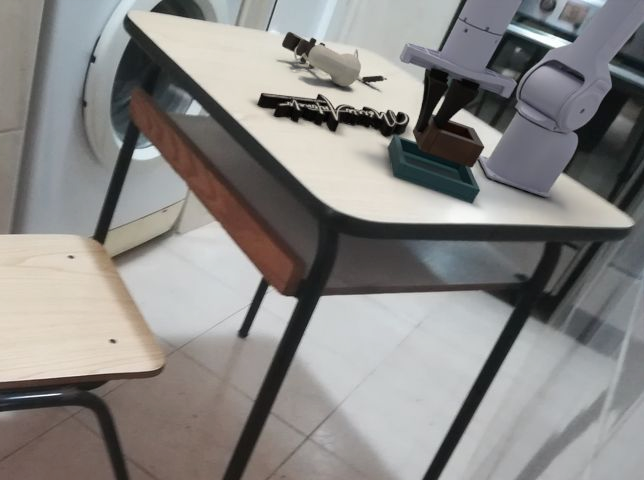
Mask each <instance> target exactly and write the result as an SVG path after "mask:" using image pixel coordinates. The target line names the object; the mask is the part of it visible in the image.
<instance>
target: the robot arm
mask: <svg viewBox="0 0 644 480" xmlns="http://www.w3.org/2000/svg"><path fill="white" fill-rule="evenodd" d="M522 2H523V0H466V1H465V3H464V6H463V8H462V9H461V12H460V13H459V15H458V18H457V20H456V22H454V23H455V24H454V25H453V28H452V30H451V31H450V34H449V36H448V37H447V39H446V41H445V44H444V45H443V47H442V50H441V51H439V50H435V49H431V48H428V47H424V46H421V45H417V44H413V43H410V42H408V41H407V42H406V43H405V45H404V46H403V49H402V51H401V52H400V54H399V60H400V62H401V63H405V64H408V65H409V64H411V65H414V66H417V67H420V68H423V69H425V70H424V80H423V81H424V82H423V92H422V93H423V94H422V100H421V106H420V110H419V114H418V118H417V121H416V124H415V125H416V126H415V125H414V127H416V130H417V131H418V132H420V133H422V132H423V130H424V129H425V127H426V126H427V124H428V122H429V120H430V117H431V115H432V114H434V111H435V109H436V108H437V107H438V104H439V103H440V101H441V99H442V98H443V96H444V95H445V96H444V99H443V100H442V103H441V105H440V107H439V108H438V110H437V112H436V113H435V114H434V115H435V117H434V122H435V124H436V126H437V128H438V129H442V127H443V126H444V125H445V124H446V123H447V122H448V121H449V120H451V119H452V118H454V116H455V115H456V114H457V113H458V112H460V111H461V110H462V109H463V108H465V107H466V106H468V105H469V104H471V103H472V102H473V101H475V99H476V98H477V97H478V95H479V94H480V91H479V90H478V89H479V88H480V89H483V90H487V91H489V92H493V93H495V94H498V95H499V96H501V97H504V98H506V99H509V98H510V97H511V95H512V93H513V92H514V90H515V88H516V93H515V96H516V100H517V103H516V104H515V106H514V108H515V109H516V110H517V111H516V112H515V114H514V116H513V118H512V119H511V121H510V122H509V124H508V126H507V128H506V129H505V131H504V133H503V134H502V136H501V137H500V139H499V141H498V143H497V144H496V146H495V147H494V149H493V151H492V153H491V154H490V156H489V157H487V156H484V155H480V156H479V158H478V161H479V162H480V165H481V166H482V168H483V171H484V173H485V175H486V177H487V178H488V179H491V180H493V181H497V182H499V183H503V184H506V185H509V186H511V187H515V188H517V189H520V190H522V191H526V192H528V193H530V194H531V193H532V194H534V195H537V196H540V197H543V198H548V197H549V192H550V190H551V188H552V187H553V186H554V184H555V183H556V181H557V180H558V179H559V177H560V175H562V173H563V172H564V170H565V168H566V167H567V166H568V164H569V163H570V161H571V160H572V158H573V156H574V154H575V152H576V150H577V147H578V144H579V137H578V134H577V133H576V132H574V131H576V130H578V129H580V128H581V127H583V126H584V125H586V124H587V123H588V122H590V120H591V119H592V118H593V117H594V116H595V114H596V113H597V112H598V109H599V107H600V106H601V105H600V104H601V103H602V101H603V100H604V98H605V97H606V95H607V94H608V93H609V91H611V89H612V87H613V85H612V78H611V73H610V67H609V63H610V62H611V61H612V60H613V58H614V57H615V56H616V55H617V54H618V52H619V51H620V50H621V49H622V47H623V46H624V45H625V44H626V43H627V42H628V40H629V39H630V38H631V37H632V36H633V34H634V33H635V32H636V31H637V30H638V29H639V27H640V26H641V25H642V24H643V23H644V0H606V1H605V2H604V4H603V5H602V6H601V7H600V9H599V10H598V11H597V12H596V14H594V16H593V17H592V18H591V20H590V21H589V22H588V24H587V25H586V26H585V27H584V28H583V30H582V31H581V32H580V33H579V35H578V36H577V37H576V39H575V40H574V41H573V42H571V43H569V44H565V45H562V46H558V47H555V48H554V47H553V48H551V49H549V50H548V52H546V54H545V55H544V56H543V58H541V60H539V62H538V63H536V64H535V65H533V66H532V67H531V68H530V69H528V71H526V73H525V74H524V75H523V76H522V78H521V79H520V81H519V83H518V84H517V81H515V79H514V78H511V77H509V76H506V75H502V74H501V73H499V72H496V71H494V70H492V69H488V68H487V65H488V64H489V62H490V60H491V59H492V57H493V55H494V53H495V51H496V50H497V47H498V46H499V44H500V42H501V40H502V38H503V37H504V35H505V33H506V31H507V30H508V28H509V26H510V24H511V22H512V20H513V18H514V17H515V15H516V13H517V11H518V9H519V8H520V6H521V4H522ZM569 72H572V73H574V74H576V75H577V76H579V77H581V78H582V79H584V81H583V80H581V79H580V78H578V77H576V76H575V75H574V74H573V75H572V74H570V73H569ZM448 78H451V82H450V84H448V82H449V79H448ZM516 86H517V87H516Z"/></svg>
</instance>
